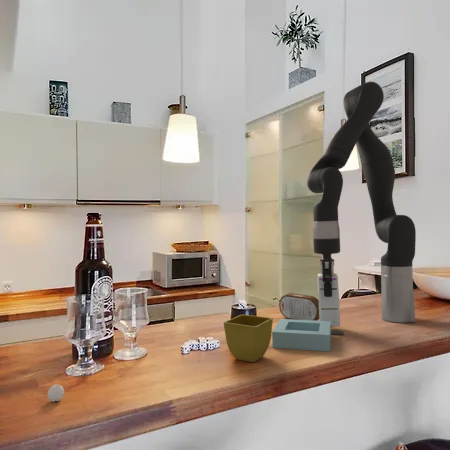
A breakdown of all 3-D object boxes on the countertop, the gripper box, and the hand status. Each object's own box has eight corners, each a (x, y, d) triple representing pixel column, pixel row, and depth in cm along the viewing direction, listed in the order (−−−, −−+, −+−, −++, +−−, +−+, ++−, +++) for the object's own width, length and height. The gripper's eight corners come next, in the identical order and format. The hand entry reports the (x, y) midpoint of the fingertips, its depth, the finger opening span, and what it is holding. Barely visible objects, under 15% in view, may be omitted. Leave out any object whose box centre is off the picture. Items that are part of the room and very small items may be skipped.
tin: (323, 323, 124) (322, 296, 124) (318, 325, 122) (317, 297, 122) (283, 316, 135) (282, 291, 135) (277, 318, 132) (277, 292, 132)
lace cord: (344, 334, 111) (344, 330, 111) (344, 335, 110) (344, 331, 110) (276, 330, 117) (276, 327, 117) (275, 331, 116) (275, 328, 116)
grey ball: (46, 400, 73) (45, 384, 73) (63, 396, 74) (62, 380, 74) (49, 406, 70) (49, 389, 70) (67, 401, 72) (66, 385, 72)
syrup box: (340, 326, 113) (339, 275, 113) (319, 326, 114) (317, 275, 114) (339, 321, 118) (337, 272, 118) (318, 321, 120) (317, 273, 120)
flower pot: (257, 367, 87) (256, 326, 87) (223, 360, 92) (222, 321, 92) (274, 355, 95) (273, 317, 95) (242, 350, 99) (241, 314, 99)
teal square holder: (331, 335, 110) (330, 321, 110) (329, 351, 97) (329, 335, 97) (280, 332, 114) (280, 318, 114) (272, 347, 101) (272, 331, 101)
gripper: (340, 237, 108) (342, 299, 108) (339, 235, 122) (341, 290, 122) (311, 238, 110) (313, 299, 110) (314, 236, 124) (316, 290, 124)
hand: (328, 294), depth 116 cm, fingers closed on syrup box, 6 cm apart
